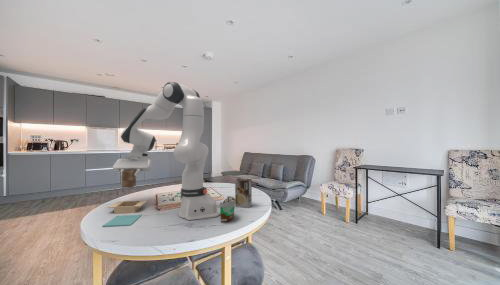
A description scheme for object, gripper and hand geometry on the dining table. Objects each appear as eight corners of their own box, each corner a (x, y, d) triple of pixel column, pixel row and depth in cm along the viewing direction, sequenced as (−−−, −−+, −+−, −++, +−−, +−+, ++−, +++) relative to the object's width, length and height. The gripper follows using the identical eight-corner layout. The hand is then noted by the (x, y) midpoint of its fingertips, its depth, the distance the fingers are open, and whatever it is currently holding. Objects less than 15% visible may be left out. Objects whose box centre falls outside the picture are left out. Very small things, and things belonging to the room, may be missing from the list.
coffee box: (252, 204, 119) (252, 179, 119) (249, 207, 113) (249, 181, 113) (238, 203, 122) (238, 178, 122) (234, 206, 115) (234, 180, 115)
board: (141, 215, 100) (141, 214, 100) (130, 225, 88) (130, 224, 88) (117, 216, 99) (117, 215, 99) (102, 226, 87) (102, 225, 87)
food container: (231, 224, 90) (232, 203, 90) (219, 223, 91) (219, 202, 91) (238, 215, 102) (238, 196, 102) (227, 214, 103) (227, 195, 103)
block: (135, 185, 111) (135, 170, 111) (131, 187, 106) (131, 171, 106) (126, 185, 111) (126, 170, 111) (122, 187, 106) (122, 171, 106)
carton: (147, 206, 115) (147, 200, 115) (140, 212, 105) (140, 206, 105) (118, 207, 113) (118, 201, 113) (108, 213, 102) (108, 207, 102)
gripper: (116, 154, 114) (106, 173, 104) (152, 154, 117) (145, 172, 107) (120, 161, 118) (111, 180, 109) (155, 161, 121) (148, 179, 111)
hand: (128, 176), depth 108 cm, fingers closed on block, 5 cm apart
